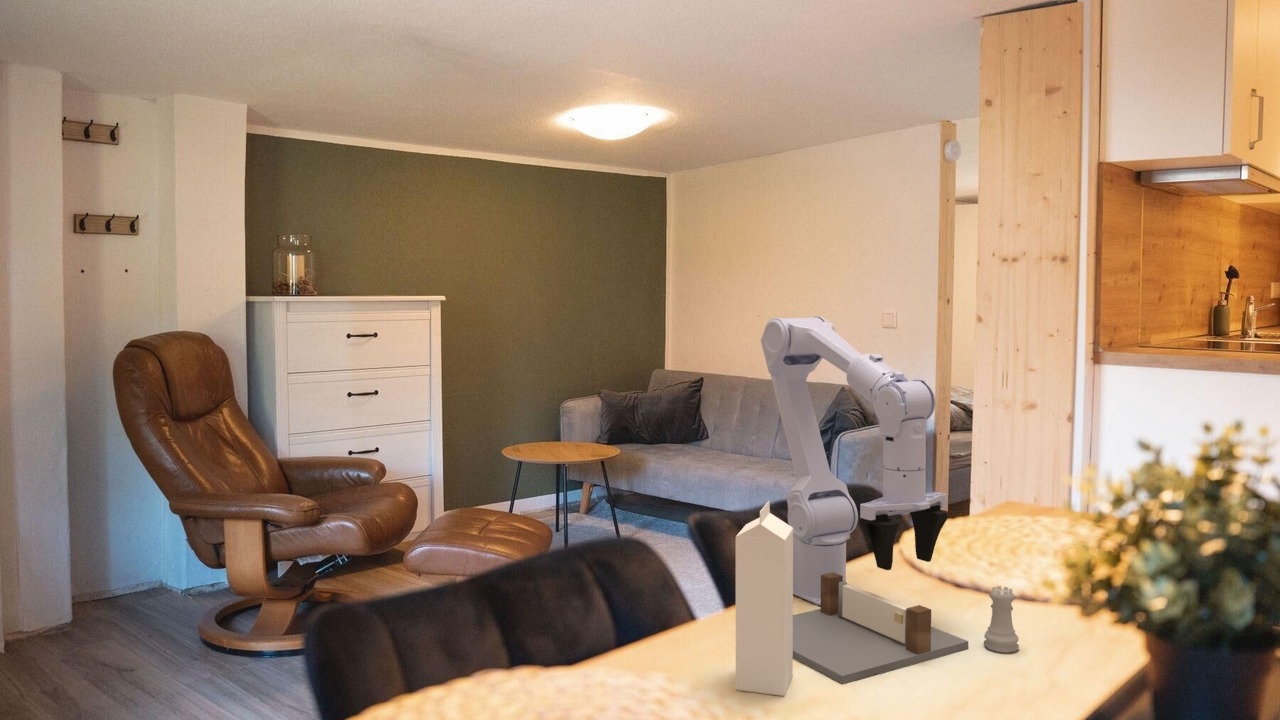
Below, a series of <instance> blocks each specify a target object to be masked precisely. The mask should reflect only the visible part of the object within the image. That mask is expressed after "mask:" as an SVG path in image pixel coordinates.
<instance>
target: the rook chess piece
mask: <svg viewBox="0 0 1280 720" xmlns="http://www.w3.org/2000/svg"><path fill="white" fill-rule="evenodd" d="M988 597H989V598H990V599H991V600H992V604H991V605H990V607H991V610H992V611H991V618H990V619H991V621H990V624H989V626H988V627H987V630H986V631H985V632H984V635H983V637H984V638H985V640H984V641H983V644H984V647H985V648H986V649H987V650H989V651H991V652H995V653H1000V654H1013V653H1015V652H1016V651H1017V650H1018V649H1019V647H1020V645H1019V644H1018V642H1019V636H1018V635H1017V634H1016V629H1014V626H1013V618H1012V611H1013V610H1014V607H1013V606H1012V603H1013V601H1014V600H1015V599H1016V596H1015V594H1014V593H1013V589H1012V588H1009V587H1007V586H1004V587H1003V589H1002V586H1001V585H997V586H993V587H992V588H991V592H989V594H988Z"/></svg>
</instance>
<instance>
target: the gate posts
mask: <svg viewBox="0 0 1280 720" xmlns="http://www.w3.org/2000/svg"><path fill="white" fill-rule="evenodd" d="M842 581H843V576H842V575H839V574H837V573H834V572H832V573H827V574H823V575H821V605H820V609H821V612H822V613H824V614H826V615H829V616H832V615H836V614H838V609H839V582H842ZM931 627H932V609H931V608H928V607H926V606H924V605H920V604H918V605H915V606H910V607H909V608H906V650H908V651H910V652H913V653H915V654H921V653H925V652H928V651H931Z"/></svg>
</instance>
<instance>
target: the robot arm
mask: <svg viewBox="0 0 1280 720" xmlns="http://www.w3.org/2000/svg"><path fill="white" fill-rule="evenodd" d="M763 330H764V331H763V332H762V333H763V334H762V336H761V338H760V342H761V347H762V350H763V351H762V352H763V355H764V358H765V359H764V360H765V363H766V366H767V367H766V368H767V371H768V373H769V374H770V378H771V383H772V387H773V391H774V395H775V398H776V402H777V406H778V410H779V415H780V418H781V423H782V427H783V430H784V435H785V437H786V443H787V446H788V447H787V448H788V450H789V453H790V454H789V455H790V458H791V461H792V462H791V463H792V465H793V470H794V472H795V473H794V474H795V478H796V480H797V481H796V482H795V484H794V485H793V486H792V488H791V489H790V490H789V491H788V493H787V494H786V496H785V498H786V503H787V524H788V525H789V526H791V527H792V528H793V596H797V597H799V598H801V599H803V600H806V601H808V602H810V603H812V604H815V605H818V606H821V575H823V574H827V573H832V572H834V573H837V574H839V575H842V576H843V582H847V540H850V539H851V533H853V532H854V531H855V529H856V527H857V524H858V521H859V523H860V524H861V526H862V528H863V529H864V531H865V534H866V535H867V537H868V540H869V542H870V545H871V549H872V552H873V556H874V558H875V564H876V566H877V568H878V569H882V570H883V571H890V570H892V567H893V561H894V545H895V539H896V535H897V531H898V529H899V526H900V523H898V522H894V521H892V520H891V518H889V516H895V515H902V514H906V513H907V514H908V513H909V515H910V518H911V522H912V526H913V532H914V533H913V534H914V549H915V554H916V555H915V556H916V559H917V560H920V561H923V562H927V563H929V562H931V561H932V558H933V554H934V551H935V548H936V543H937V540H938V538H939V535H940V532H941V531H942V528H943V527H944V525H945V523H946V522H947V520H948V519H949V512H948V511H947V510H943V509H944V508H945V509H946V508H947V493H943V492H939V491H938V492H937V491H934V492H927V491H926V490H927V489H926V487H927V484H926V480H927V479H926V478H927V476H926V474H927V470H926V469H927V468H926V467H927V464H926V463H927V462H926V461H927V459H926V458H927V457H926V456H927V449H926V447H927V446H926V445H927V444H926V443H927V436H926V435H927V429H926V428H927V427H926V426H927V424H926V423H927V420H928V419H930V418H931V416H932V415H933V414H934V411H935V408H936V395H935V393H934V391H933V389H932V388H931V386H930V385H929V384H928V383H927V382H926V380H924V379H922V378H917V379H916V378H915V379H910V378H907V377H906V376H905V374H904V373H903V372H902V371H901V370H896V369H895V368H893V367H892V366H890V365H889V364H887V363H886V362H885V361H883V360H884V357H883V356H882V355H881V354H880V353H863V354H861V353H860V352H859V351H858V350H857V349H856V348H854V347H853V346H852V345H851V344H849V343H848V342H847V341H846V340H845V339H844V338H843V337H842V336H840V334H838V333H837V332H836V331H835V330H836V329H835V325H834V323H832V322H830V321H828V320H827V319H826V318H824V317H822V316H820V315H819V316H818V315H817V316H813V317H794V318H793V317H788V318H787V317H786V318H783V317H782V318H781V317H773V318H771V319H769V320H768V322H767V323H766V325H765V326H764V329H763ZM823 359H824V360H825V361H827V362H828V363H830V364H831V365H833V366H834V367H836V368H837V369H839V370H840V371H842V372H843V373H845V374H846V382H847V384H848V385H849V386H850V387H851V388H852V389H853V390H854V391H856V392H857V393H859V394H860V395H861V396H862V397H863V398H865V399H866V400H867V401H869V402H870V403H871V404H872V406H873V411H874V413H875V415H876V417H877V420H878V424H879V431H880V434H881V435H882V446H883V447H882V497H878V498H876V499H874V500H871V501H869V502H865V503H860V505H859V507H860V508H859V509H860V511H859V513H860V516H859V514H858V509H857V505H856V503H855V501H854V500H853V498H852V497H851V495H850V494H849V490H848V486H847V484H846V483H845V482H843V481H842V480H841V479H840V478H837V477H836V476H835V475H833V474H832V472H831V469H830V466H829V465H830V464H829V463H828V462H829V461H828V459H827V455H826V449H825V446H824V443H823V439H822V436H821V432H820V428H819V424H818V421H817V416H816V413H815V410H814V405H813V401H812V398H811V393H810V391H809V386H808V383H807V379H808V377H809V374H810V373H813V372H814V371H815V370H816V369H817V368H818V366H819V364H820V363H821V361H822V360H823Z"/></svg>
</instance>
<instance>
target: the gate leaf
mask: <svg viewBox="0 0 1280 720" xmlns="http://www.w3.org/2000/svg"><path fill="white" fill-rule="evenodd" d="M906 608H909V607H908V606H907V605H903V604H900V603H899V602H896V601H893V600H891V599H888V598H885V597H884V596H880V595H878V594H875V593H872V592H870V591H868V590H865V589H862V588H859V587H858V586H855V585H852V584H848V582H847V581H846V582H843V581H842V582H839V609H838V616H840V617H844V618H847V619H849V620H851V621H854V622H856V623H858V624H861V625H863V626H865V627H868V628H870V629H872V630H874V631H877V632H879V633H881V634H884V635H886V636H888V637H891V638H893V639H895V640H897V641H900V642H902V643H904V644H905V643H906Z"/></svg>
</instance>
